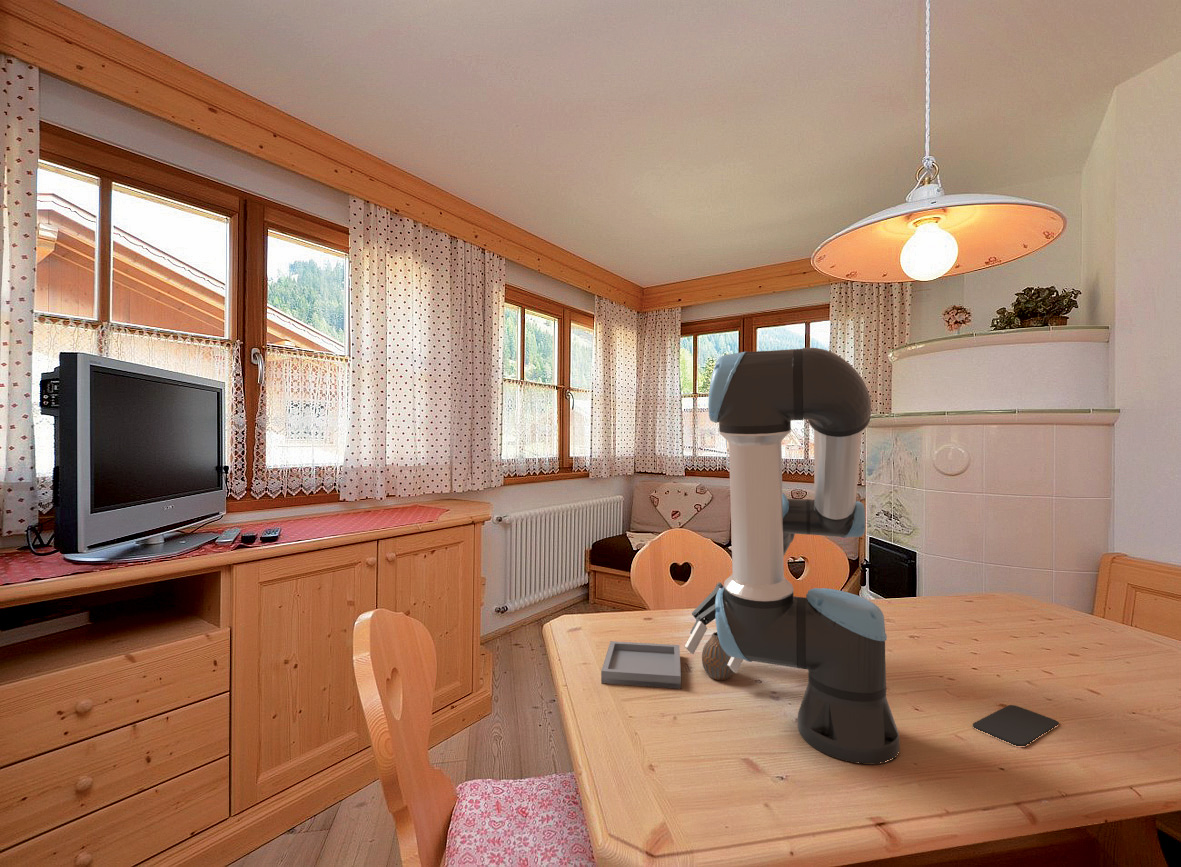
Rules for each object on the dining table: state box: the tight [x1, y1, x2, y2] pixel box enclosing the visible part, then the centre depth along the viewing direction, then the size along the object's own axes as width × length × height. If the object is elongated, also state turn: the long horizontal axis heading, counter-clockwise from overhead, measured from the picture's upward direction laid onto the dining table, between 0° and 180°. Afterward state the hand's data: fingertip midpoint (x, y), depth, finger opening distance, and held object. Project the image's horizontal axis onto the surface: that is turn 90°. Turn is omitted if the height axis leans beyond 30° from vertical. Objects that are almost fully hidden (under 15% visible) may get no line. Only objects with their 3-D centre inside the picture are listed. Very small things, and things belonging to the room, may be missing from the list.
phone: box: [972, 704, 1060, 746], centre depth 89 cm, size 7×1×15 cm
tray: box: [600, 640, 682, 690], centre depth 112 cm, size 16×16×2 cm
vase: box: [701, 631, 734, 681], centre depth 108 cm, size 7×7×9 cm
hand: (709, 659), depth 107 cm, fingers open, 11 cm apart
